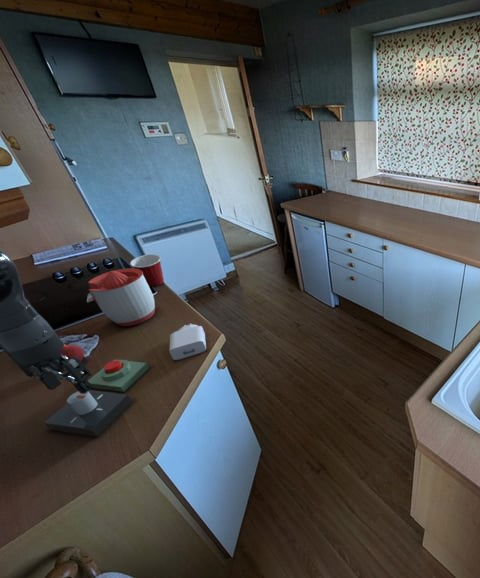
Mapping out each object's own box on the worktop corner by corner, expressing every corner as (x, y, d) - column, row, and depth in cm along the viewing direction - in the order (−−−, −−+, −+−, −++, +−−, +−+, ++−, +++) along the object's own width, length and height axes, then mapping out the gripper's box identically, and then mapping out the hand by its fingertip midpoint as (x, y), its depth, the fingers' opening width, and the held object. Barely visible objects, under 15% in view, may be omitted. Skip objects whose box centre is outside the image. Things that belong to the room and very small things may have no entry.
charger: (204, 325, 107) (207, 350, 96) (175, 333, 103) (174, 361, 92) (200, 315, 104) (202, 340, 93) (170, 323, 100) (168, 350, 89)
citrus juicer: (103, 317, 110) (73, 271, 99) (157, 300, 120) (136, 256, 109) (105, 338, 100) (73, 289, 90) (164, 318, 110) (141, 272, 99)
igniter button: (103, 373, 83) (100, 368, 82) (114, 363, 86) (112, 359, 85) (114, 374, 83) (111, 370, 82) (125, 365, 86) (123, 360, 85)
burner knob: (72, 413, 73) (61, 401, 70) (88, 400, 76) (78, 388, 73) (86, 415, 72) (76, 403, 70) (101, 402, 76) (92, 389, 73)
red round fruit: (93, 360, 92) (79, 341, 87) (70, 373, 87) (54, 354, 83) (83, 354, 94) (69, 336, 90) (60, 367, 89) (44, 347, 85)
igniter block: (89, 387, 83) (81, 378, 81) (117, 364, 91) (111, 355, 88) (124, 392, 82) (117, 382, 80) (149, 368, 89) (144, 358, 87)
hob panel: (50, 430, 72) (43, 422, 70) (90, 396, 81) (84, 388, 79) (97, 436, 71) (90, 429, 69) (132, 401, 79) (127, 394, 78)
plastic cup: (143, 292, 125) (131, 267, 119) (140, 282, 132) (127, 259, 125) (173, 283, 131) (162, 260, 125) (167, 275, 138) (157, 251, 132)
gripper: (-24, 347, 59) (28, 398, 68) (37, 353, 58) (82, 405, 66) (19, 323, 65) (62, 373, 74) (75, 329, 64) (112, 379, 73)
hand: (71, 388), depth 70 cm, fingers open, 8 cm apart
